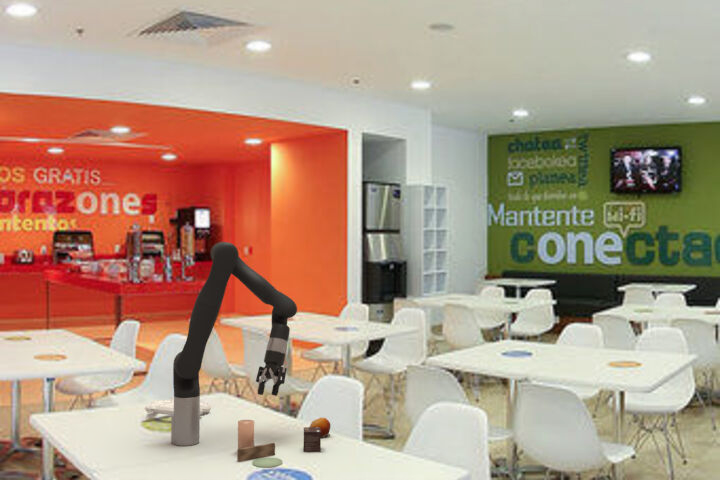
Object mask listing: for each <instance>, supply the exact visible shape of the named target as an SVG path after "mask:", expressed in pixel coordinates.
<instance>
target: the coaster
mask: <svg viewBox="0 0 720 480" xmlns="http://www.w3.org/2000/svg"><path fill="white" fill-rule="evenodd" d="M251 463H252V464H251V465H253V467H257V468H263V469H264V468H267V469H268V468H276V467H279V466H282V465H283V460H282V459H280V458H277V457H271V456H267V457H261V458H256V459H253V460H252V462H251Z"/></svg>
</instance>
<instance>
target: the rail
mask: <svg viewBox="0 0 720 480" xmlns="http://www.w3.org/2000/svg"><path fill="white" fill-rule="evenodd" d="M236 450H237V451H236V452H237V459H236V460H237V462H238V463H240V462H244V461H250V460H255V459H259V458H267V457H271V456H275V455H276V443H275V442H269V443H264V444H259V445H257V444H256V445H254V446H252V447H247V448H241V449H238V448H237V449H236Z"/></svg>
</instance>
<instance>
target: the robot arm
mask: <svg viewBox="0 0 720 480" xmlns="http://www.w3.org/2000/svg"><path fill="white" fill-rule="evenodd" d="M210 258H211V260H212V263H211V268H210V271H209V275H208V277H207V279H206V281H204V282H205V283H204V284H203V286H202V287H201V289H200V290H199V293H198V294H197V297H196V299H195V301H194V306H193V309H192V311H191V315H190V318H189V325H188V330H187V331H188V332H187V338H186V339H185V340H186V341H185V342H184V345H183V348H182V350H181V351H180V352H178V353H177V354H176V356H175V357H174V359H173V365H172V366H173V369H172V370H173V371H172V372H173V376H172V377H173V379H172V381H173V386H172V387H173V398H174V415H172V416H171V418H170V419H171V421H170V422H171V424H170V425H171V427H170V428H171V429H170V437H171V438H170V441H171V442H170V443H171V444H173V445H175V446H180V447H181V446H182V447H184V446H186V447H187V446H194V445H197V444H199V443H200V428H201V427H200V426H201V425H200V424H201V422H200V421H201V419H200V417H201V415H200V402H201V397H200V396H201V387H200V371H201V369H202V363H203V359H204V354H205V349H206V347H207V344H208V341H209V338H210V336H211V334H212V332H213V329H214V326H215V324H216V321H217V319H218V316H219V313H220V310H221V307H222V303H223V300H224V296H225V293H226V290H227V286H228V283H229V280H230V278H231V276H234V277H235V278H236V279H237V280H239V281H240V282H241V283H242V284H243V285H244V286H245V287H246V288H247V289H248V290H249V291H250V292H251V293H252V294H253V295H254V296H256V298H258V299H259V300H260V301H261V302H262V303H263V304H265V305H269V306H271V307H272V311H271V330H270V333H269V338H268V341H267V345H266V350H265V354H264V359H263V362H264V364H265V366H259V367H258V370H257V374H256V379H255V383H258V386H257V387H258V388H257V395H259V396H263V395H264V393H265V387H266V384H267V382H269V381H270V380H272V381H273V386H272V389H271V395H272V396H274V397H276V396H278V394H279V390H280V389H279V388H280V386H281V385H284V384H285V381H286V376H287V375H286V374H287V367H284V364H285V361H286V360H285V359H286V355H287V351H288V341H289V338H290V333H291V332H290V331H291V330H290V326H288V320H289V319H290V318H291V319H292V318H293V317H295V315H297V313H298V306H297V304H296V302H295V301H294V300H293V299H292V298H290V297H289V296H288V295H286V294H285V293H283V292H281V291H280V290H278V289H276V287H275V286H273V285H272V284H271V283H270V282H269V281H268V279H266V278H264V277H263V276H262V275H261V274H259V273H258V272H257V271H255V270H254V269H253V268H252V267H251V266H249V264H247V263H246V262H244V260H242V258H241V257H240V256H239V250H238V248H237V247H236V245H235V244H233V243H231V242H227V241H220V242H219V241H218V242H217V243H215V244H214V245H212V247H211V250H210Z"/></svg>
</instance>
